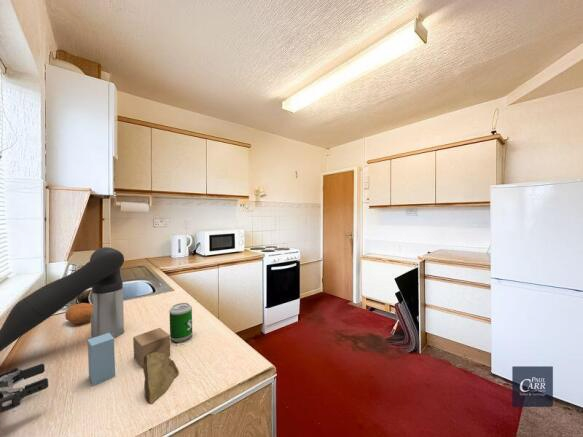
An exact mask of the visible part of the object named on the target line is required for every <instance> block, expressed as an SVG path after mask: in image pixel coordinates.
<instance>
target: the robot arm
mask: <svg viewBox="0 0 583 437" xmlns="http://www.w3.org/2000/svg"><path fill="white" fill-rule="evenodd" d="M89 258H90V259H89V261H88V262H87V263H85V264H84V265H83V266H81V267H80V268H78V269H76V270H75V271H73V272H72V273H70V274H68V275H66V276H63V277H61V278H59V279H57V280H53V281H52V282H50V283H48V284H46V285H43V286H41V287H40V288H38V289H37V290H35V291H33V292H32V293H30V294H29V295H26V296H25V297H24V298H22V299H20V300H19V301H18V302H17V303H16V304H15V305H14V306H13V307H12V308H11V310H10V311H9V313H8V315H7V316H6V319H5V321H4V322H3V324H2V326H1V328H0V353H1V352H2V351H3V350H5V349H6V348H8V346H10V345H12V343H14V342H15V341H17V340H18V339H19V338H21V337H23V336H24V335H25V334H27V333H28V332H30V331H31V330H33V329H34V328H36V327H37V326H39V325H40V324H42V323H43V322H45V321H47V319H49V318H51V317H52V316H53V315H55V314H56V313H58V312H59V311H60V310H62V309H63V308H64V307H66V306H67V305H68V304H69V303H71V302H72V301H73V300H75V299H77V298H78V297H79V296H80V295H82V294H83V293H84V292H85V291H87V290H88V289H89V288H91V292H92V293H91V294H92V297H91V298H92V305H93V312H91V319H90V330H91V331H90V332H91V336H90V337H91V338H94V337H97V336H100V335H104V334H107V333H110V334H111V335H112V337H113V338H114V339H115V338H117V337H119V336H121V335H122V334H123V333H124V332H125V318H124V311H125V310H124V287H123V285H124V284H123V280H122V277H121V276H122V275H121V268H122V266H123V265H124V262H125V256H124V254H123V253H122V252H121V251H119V250H118V249H115V248H113V247H109V246H106V247H100V248H98V249H96V250H94V251H93V253H92V254H91V256H90V257H89ZM91 338H90V339H91ZM45 371H46V369H45V363H40V364H37V365H34V366H31V367H28V368H25V369H20V368H19V367H14V368H11V369H8V370H6V371H2V372H0V414H1V413H5V412H7V411H9V410H12V409H15V408H17V407H19V406H20V405H21V401H23V400H24V399H25V398H26V397H28V396H29V397H30V396H31V395H33V394H35V393H36V394H37V393H39V392H41V391H43V390H45V389H48V388H49V379H48V377H47V378H46V377H45V378H42V379H39V380H37V381H34V382H31V383H29V384H26V385H24V386H21V387H14V386H15V385H16V384H18V383H19V382H22V381H23V380H26V379H27V380H28V379H30V378H33V377H35V376H38V375H40V374H44V373H45Z"/></svg>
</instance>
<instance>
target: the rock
mask: <svg viewBox="0 0 583 437" xmlns="http://www.w3.org/2000/svg"><path fill="white" fill-rule="evenodd" d="M142 370H143V375H144V384H143V387H144V388H143V390H144V391H143V392H144V394H143V395H144V398H145V401H146V402H147V403H148V404H150V405H153V404H154V403H155V401H156V400H158V399H159V398H160V397H162V395H164V394H165V393H166V392H167V390H168V389H169V387H170V386H171V384H172V383H173V382H174V379H175V378H176V377H177V376H178V375H179V373H180V371H179V369H178V366H177V365H176V363H175V361H174V360H173V359H171V358H170V357H168V356H167V354H166V353H158V352H154V353H151V354H149V355H146V356H144V358H143V368H142Z"/></svg>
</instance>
